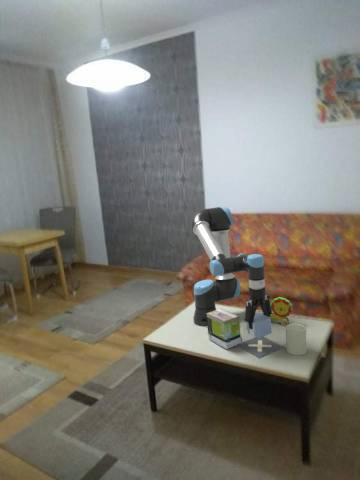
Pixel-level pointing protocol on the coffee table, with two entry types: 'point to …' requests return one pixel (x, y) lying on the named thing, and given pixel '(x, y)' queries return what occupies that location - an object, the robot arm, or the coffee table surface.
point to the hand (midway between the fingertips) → (259, 331)
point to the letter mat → (260, 346)
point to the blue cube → (261, 325)
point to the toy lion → (281, 310)
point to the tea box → (224, 328)
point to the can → (296, 339)
